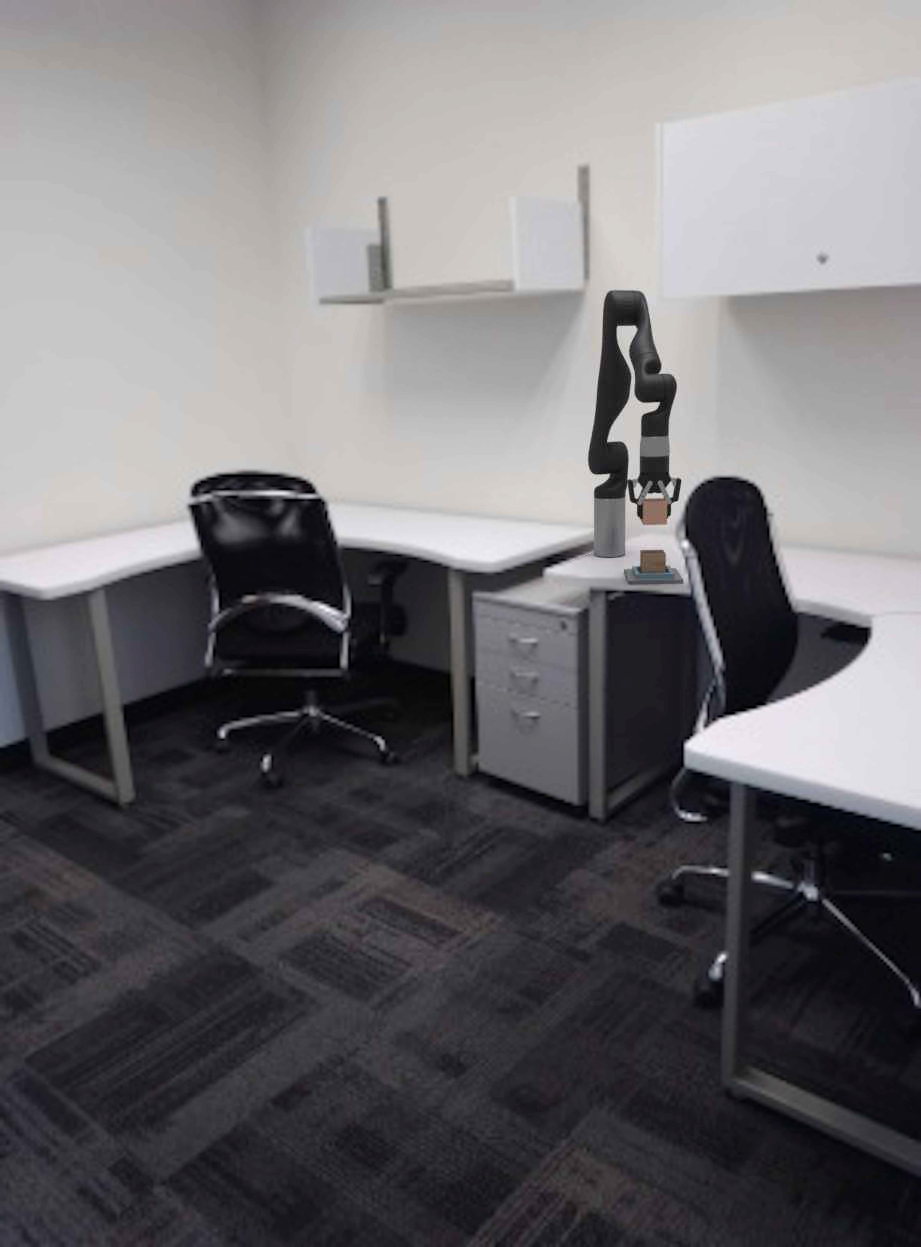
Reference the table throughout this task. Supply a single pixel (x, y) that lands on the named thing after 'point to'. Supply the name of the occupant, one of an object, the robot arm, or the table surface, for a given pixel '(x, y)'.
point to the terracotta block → (654, 511)
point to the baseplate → (652, 576)
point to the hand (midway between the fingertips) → (653, 518)
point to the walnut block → (652, 561)
